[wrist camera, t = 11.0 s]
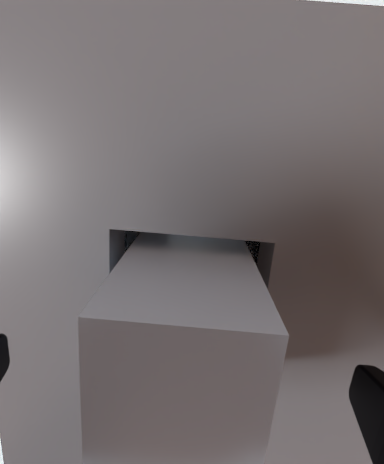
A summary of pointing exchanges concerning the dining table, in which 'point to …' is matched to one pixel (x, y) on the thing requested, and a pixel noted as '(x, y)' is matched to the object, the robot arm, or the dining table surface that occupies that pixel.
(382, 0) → the dining table surface
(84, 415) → the plug
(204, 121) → the socket board
